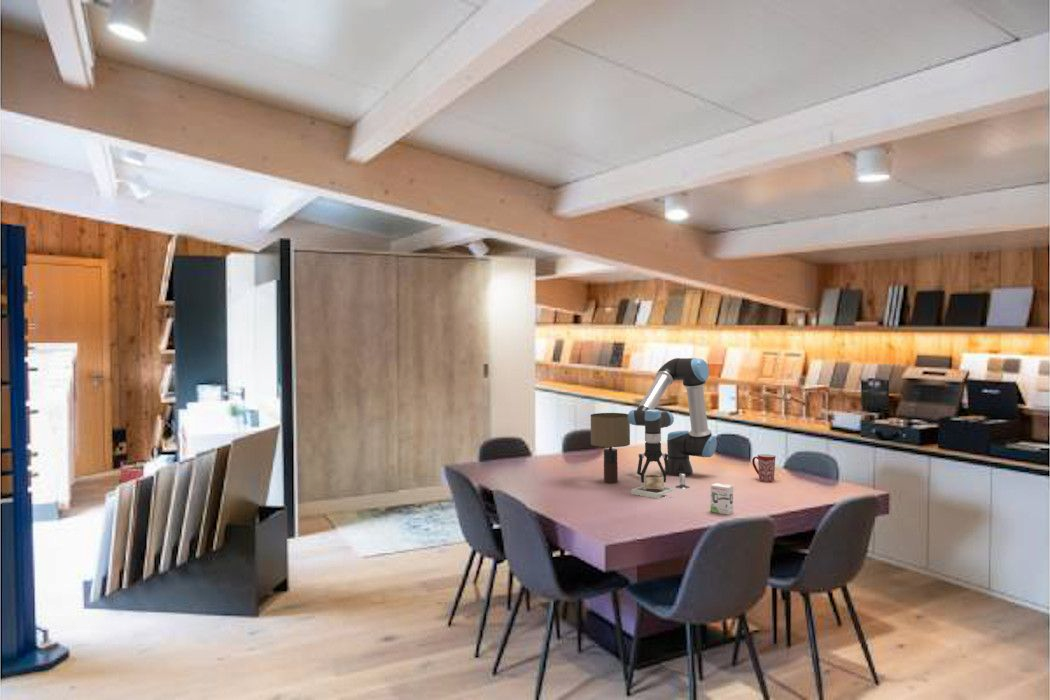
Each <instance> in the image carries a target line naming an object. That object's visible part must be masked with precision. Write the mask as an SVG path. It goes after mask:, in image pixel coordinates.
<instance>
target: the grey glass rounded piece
mask: <svg viewBox="0 0 1050 700" xmlns="http://www.w3.org/2000/svg"><path fill="white" fill-rule="evenodd" d="M678 477H679V478H678V479H679V485H675V487H674V488H675V489H683V490H685V489H690V486H688V485H686V476H685V474H684V473H680V474H679V476H678Z"/></svg>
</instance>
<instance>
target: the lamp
mask: <svg viewBox="0 0 1050 700" xmlns="http://www.w3.org/2000/svg"><path fill="white" fill-rule="evenodd" d="M628 414H629V413H624V412H623V413H622V412H598V413H592V414H590V445H591V446H594V447H598V448H604V449H603V482H604V483H605V484H617V483H618V481H619V479H618V478H619V477H618V473H619V472H618V470H619V468H618V448H622V447H628V446H631V424H630V423H629V421H628Z"/></svg>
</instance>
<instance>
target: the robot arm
mask: <svg viewBox="0 0 1050 700" xmlns="http://www.w3.org/2000/svg"><path fill="white" fill-rule="evenodd" d="M709 374H710V369H709V366H708V363H707V361H705V360H704V359H702V358H695V357H694V358H693V357H692V358H691V357H690V358H688V357H686V358H684V357H682V358H680V357H676V358H672V359H670V360H669V361H667V362H665V363H664V364H663V365H662V366H661V367H660V368H659V369H658V370H657V372H656V374H655V379H654V381H653V382H652V384H651V386H650V387H649V388H648V390H647V392H646V394H645V396H644V397H643V398H642V400H641V402H640V404H639V405H638V407H637V408H636V409H631V410H629V412H628V413H627V414H628V421H629V423H630V425H631V426H632V425H633V426H640V427H644V441H645V443H644V453H639V454H638V464H637V471H636V473H637V475H638V476H640V482H641V484H643V485H642V486H643V489H642V490H643V491H647V488H646V476H645V475H646V472H647V470H648V467H649V465H650V463H652V462H656V463H657V465H658V466H659V470H660V472H661V473H662V474H660V475H661V476H662V477H663V488H661V490H662V491H665V489H664V487H665V483H666V482H667V476H673V477H675V476H676V477H677V476H678V477H679V474H680V473H684V474H685V477H686V476H691V475H693V471H694V470H693V466H692V463H691V461H690V456H693V457H698V458H699V457H700V458H711V457H712V456H713V455H714V454H715V452H716V449H717V445H718V443H717V442H718V441H717V437H716V436H715V435H713V434H712V431H711V430H710V429H709V427H708V426H709V425H708V416H707V409H706V402H705V401H706V400H705V391H704V386H705V384H706V382H707V380H708V379H709V376H710V375H709ZM675 381H682V385H683V387H685V388H686V395H687V403H688V404H687V405H688V412H689V420H690V427H691V428H690V429H691V430H690V431H689V430H676V431H670V432H668V434H667V438H666V442H667V448H666V449H667V453H664V452H662V443H661V441H662V435H661V434H662V431H661V430H662V429H663V428H669V427H670V426H672V425H673V423H674V422H675V421H674V420H675V418H674V415H673V414H672V413H671V412H670V411H667V410H666V411H665V410H664V411H661V410H660V409H656V407H657V405H658V404H659V402H660V400H661V399H662V397H663V396H664V394H665V392H666V390H667V388H669V386H671V385H672V384H673V383H674V382H675ZM644 457H645V458H646V460H645V462H644V465H643V459H644ZM661 457H662V458H663V461H664V463H663V464H664V466H665V467H663V465H662V463H661V462H662V461H661V460H660V459H661ZM642 466H643V468H642Z"/></svg>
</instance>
